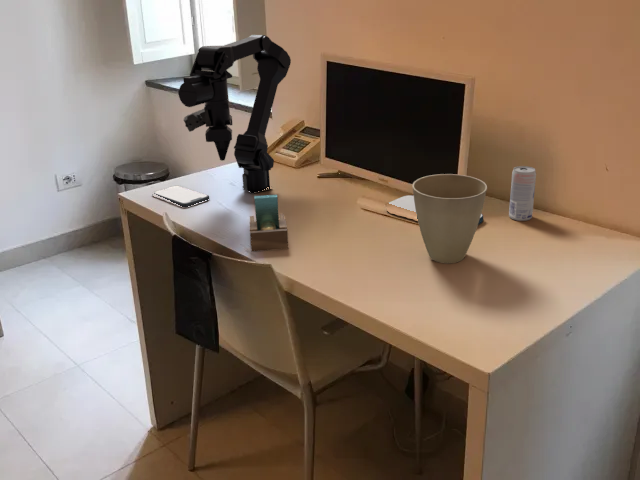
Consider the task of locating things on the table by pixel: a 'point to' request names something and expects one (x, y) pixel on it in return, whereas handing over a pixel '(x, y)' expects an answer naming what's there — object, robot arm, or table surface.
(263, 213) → the teal upright block
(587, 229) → the table surface
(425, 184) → the plant pot
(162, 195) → the phone case
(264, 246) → the walnut track with socket
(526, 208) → the energy drink
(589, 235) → the table surface
